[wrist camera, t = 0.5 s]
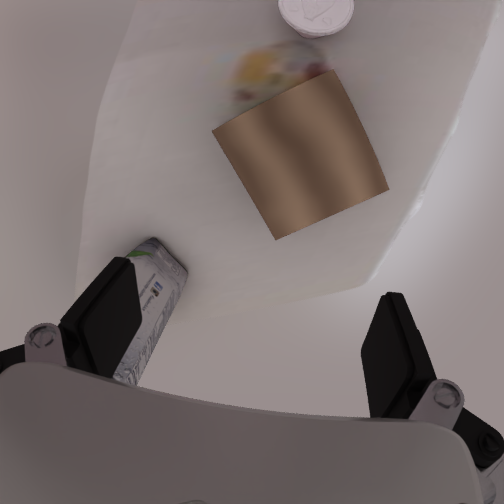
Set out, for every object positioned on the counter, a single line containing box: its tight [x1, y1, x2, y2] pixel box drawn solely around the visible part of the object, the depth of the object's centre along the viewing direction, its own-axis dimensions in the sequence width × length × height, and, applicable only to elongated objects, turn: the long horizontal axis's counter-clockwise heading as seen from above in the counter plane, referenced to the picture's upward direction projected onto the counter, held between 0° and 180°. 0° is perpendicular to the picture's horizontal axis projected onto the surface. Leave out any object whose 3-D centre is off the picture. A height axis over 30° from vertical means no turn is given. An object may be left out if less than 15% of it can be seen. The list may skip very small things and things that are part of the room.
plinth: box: [212, 69, 389, 240], centre depth 33 cm, size 14×14×4 cm
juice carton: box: [111, 238, 187, 386], centre depth 34 cm, size 9×10×27 cm
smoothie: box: [278, 0, 354, 39], centre depth 22 cm, size 6×6×14 cm
